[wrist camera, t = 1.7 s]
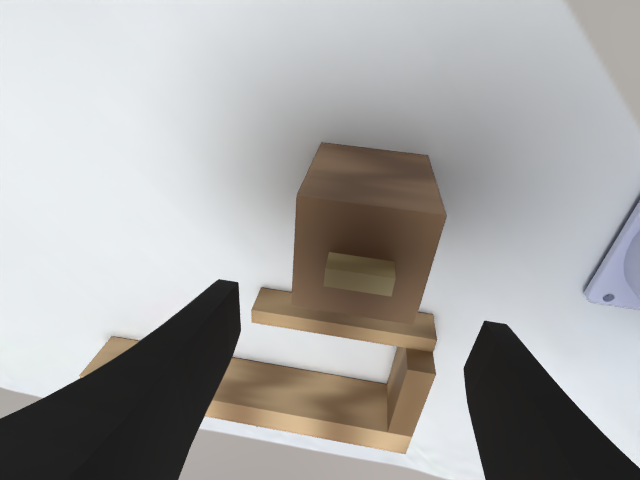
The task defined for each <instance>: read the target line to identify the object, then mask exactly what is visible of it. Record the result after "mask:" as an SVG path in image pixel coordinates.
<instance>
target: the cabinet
mask: <svg viewBox="0 0 640 480" xmlns="http://www.w3.org/2000/svg"><path fill="white" fill-rule="evenodd" d="M446 216H447V215H446V212H445V209H444V205H443V202H442V199H441V196H440V192H439V189H438V186H437V183H436V180H435V176H434V173H433V170H432V167H431V163H430V160H429V157H428V155H420V154H412V153H404V152H396V151H388V150H380V149H372V148H364V147H355V146H347V145H339V144H331V143H323V142H321V144H320V146H319V149H318V151H317V153H316V155H315V157H314V159H313V161H312V164H311V166H310V168H309V170H308V172H307V174H306V176H305V179H304V181H303V183H302V185H301V187H300V189H299V191H298V193H297V198H296V219H295V240H294V260H293V281H292V302H291V305H292V306H298V307H304V308H310V309H317V310H323V311H329V312H335V313H342V314H348V315H354V316H360V317H367V318H373V319H379V320H385V321H392V322H398V323H404V324H410V325H414V323H415V320H416V316H417V313H418V310H419V306H420V303H421V300H422V296H423V293H424V290H425V286H426V283H427V280H428V276H429V273H430V270H431V266H432V263H433V260H434V256H435V253H436V250H437V246H438V243H439V240H440V236H441V233H442V230H443V226H444V223H445V220H446Z"/></svg>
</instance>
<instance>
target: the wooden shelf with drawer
mask: <svg viewBox="0 0 640 480" xmlns="http://www.w3.org/2000/svg"><path fill="white" fill-rule="evenodd" d="M291 302H292V293H291V292H285V291H279V290H272V289H266V288H261V289H260V292H259V294H258V296H257V298H256V301H255V303H254V305H253V307H252V310H251V312H252V323H258V324H264V325H271V326H277V327H283V328H289V329H295V330H301V331H307V332H313V333H319V334H325V335H331V336H337V337H343V338H349V339H355V340H361V341H367V342H373V343H379V344H385V345H391V346H397V351H396V354H395V358H394V362H393V365H392V369H391V372H390V376H389V379H388V383H387V384H382V383H376V382H370V381H364V380H359V379H353V378H347V377H342V376H336V375H330V374H324V373H319V372H313V371H307V370H301V369H296V368H290V367H284V366H278V365H273V364H267V363H261V362H256V361H250V360H244V359H238V358H233V357H232V359H231V362H230V364H229V366H228V368H227V370H226V372H225V375H224V377H223V379H222V381H221V383H220V385H219V387H218V389H217V391H216V393H215V395H214V398H213V400H212V402H211V404H210V406H209V408H208V410H207V412H206V414H205V416H206V417H211V418H217V419H222V420H227V421H232V422H238V423H243V424H248V425H254V426H259V427H264V428H270V429H275V430H280V431H285V432H291V433H296V434H301V435H307V436H312V437H317V438H322V439H328V440H333V441H338V442H344V443H349V444H354V445H359V446H365V447H370V448H375V449H381V450H386V451H391V452H397V453H402V454H406V451H407V449H408V446H409V443H410V441H411V438H412V436H413V433H414V430H415V428H416V425H417V423H418V420H419V417H420V415H421V412H422V409H423V407H424V404H425V402H426V399H427V396H428V394H429V391H430V389H431V386H432V383H433V381H434V378H435V376H436V372H435V365H434V358H433V350H434V347H435V345H436V342H437V336H436V330H435V324H434V318H433V315H431V314H425V313H417V316H416V320H415V323H414V325H410V324H404V323H398V322H392V321H385V320H379V319H373V318H367V317H360V316H354V315H348V314H342V313H335V312H329V311H323V310H317V309H310V308H304V307H298V306H292V305H291ZM138 342H139V341H135V340H129V339H124V338H118V337H111V338H110V339H109V340H108V342H107V343H106V344H105V345H104V346H103V348H102V349H101V350H100V351H99V352H98V354H97V355H96V356H95V357H94V358H93V360H92V361H91V362H90V363H89V364H88V366H87V367H86V368H85V369H84V370H83V372H82V373H81V374H80V375H79V376H80V378H82V377H84V376H86V375H87V374H89V373H91V372H93V371H94V370H96V369H98V368H99V367H101V366H103V365H104V364H106V363H107V362H109V361H111V360H112V359H114V358H115V357H117V356H118V355H120V354H122V353H123V352H125V351H126V350H128V349H129V348H131V347H132V346H133V345H135V344H136V343H138Z"/></svg>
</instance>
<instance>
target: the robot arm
mask: <svg viewBox="0 0 640 480" xmlns="http://www.w3.org/2000/svg"><path fill="white" fill-rule="evenodd" d="M584 294H585V297H586V298H587V300H588V301H590V302H592V303H597V304H604V305H610V306H617V307H624V308H630V309H637V310H640V201H639V203H638V204H637V206H636V207H635V209H634V211H633V212H632V214H631V216H630V217H629V219H628V221H627V222H626V224H625V226H624V227H623V229H622V231H621V232H620V234H619V236H618V237H617V239H616V240H615V242H614V244H613V245H612V247H611V249H610V250H609V252H608V254H607V255H606V257H605V259H604V260H603V262H602V264H601V265H600V267H599V269H598V270H597V272H596V273H595V275H594V277H593V278H592V280H591V282H590V283H589V285H588V287H587V288H586V290H585V293H584ZM607 294H609V295H608V296H606V297H604V296H605V295H607ZM240 332H241V323H240V305H239V286H238V282H233V281H226V280H220V279H219V280H217V281H216V282H215V283H213V284H212V285H211V286H210V287H208V288H207V289H206V290H205V291H204V292H202V293H201V294H200V295H199V296H198V297H196V298H195V299H194V300H193V301H191V302H190V303H189V304H188V305H187V306H185V307H184V308H183V309H182V310H180V311H179V312H178V313H177V314H175V315H174V316H173V317H171V318H170V319H169V320H168V321H166V322H165V323H164V324H163V325H161V326H160V327H159V328H157V329H156V330H154V331H153V332H152V333H150V334H149V335H147V336H146V337H145V338H143V339H142V340H140V341H139V342H138V343H136V344H135V345H133V346H132V347H131V348H129V349H128V350H126V351H125V352H123V353H122V354H120V355H118V356H117V357H115V358H114V359H112V360H111V361H109V362H107V363H106V364H104V365H103V366H101V367H99V368H98V369H96V370H94V371H93V372H91V373H89V374H87V375H86V376H84V377H82V378H80V379H78V380H76V381H75V382H73V383H71V384H69V385H67V386H65V387H63V388H62V389H60V390H58V391H56V392H54V393H52V394H50V395H49V396H47V397H45V398H43V399H41V400H39V401H37V402H35V403H33V404H31V405H29V406H26V407H25V408H22V409H20V410H18V411H16V412H14V413H12V414H10V415H8V416H5V417H3V418H1V419H0V480H178V479H179V476H180V473H181V471H182V468H183V465H184V463H185V460H186V457H187V454H188V452H189V449H190V447H191V444H192V442H193V440H194V437H195V435H196V433H197V431H198V429H199V427H200V424H201V422H202V420H203V418H204V416H205V414H206V412H207V410H208V408H209V406H210V404H211V402H212V400H213V398H214V395H215V393H216V391H217V389H218V387H219V385H220V383H221V381H222V379H223V377H224V375H225V372H226V370H227V368H228V366H229V364H230V362H231V359H232V356H233V353H234V350H235V347H236V344H237V341H238V338H239V335H240ZM464 378H465V388H466V396H467V404H468V408H469V413H470V417H471V421H472V426H473V430H474V434H475V438H476V442H477V446H478V450H479V455H480V459H481V463H482V467H483V471H484V475H485V479H486V480H640V468H639V467H638V466H637V465H636V464H634V463H633V462H632V461H631V460H630V459H629V458H628V457H627V456H626V455H625V454H624V453H623V452H622V451H621V450H620V449H619V448H617V447H616V446H615V445H614V444H613V443H612V442H611V441H610V440H609V439H608V438H607V437H606V436H605V435H604V434H603V433H602V432H601V431H600V430H599V428H598V427H597V426H596V425H595V424H594V423H593V422H592V421H591V420H590V419H589V418H588V417H587V416H586V415H585V414H584V413H583V412H582V411H581V410H580V409H579V407H578V406H577V405H576V404H575V403H574V402H573V401H572V400H571V399H570V398H569V397H568V395H567V394H566V393H565V392H564V391H563V390H562V389H561V388H560V386H559V385H558V384H557V383H556V382H555V381H554V380H553V378H552V377H551V376H550V375H549V374H548V373H547V371H546V370H545V369H544V368H543V367H542V366H541V364H540V363H539V362H538V361H537V360H536V358H535V357H534V356H533V355H532V354H531V352H530V351H529V350H528V349H527V348H526V346H525V345H524V344H523V343H522V342H521V340H520V339H519V338H518V337H517V336H516V334H515V333H514V332H513V331H512V330H511V329H510V328H509V326H508V325H507V324H502V323H496V322H489V321H484V323H483V325H482V327H481V330H480V332H479V334H478V336H477V339H476V341H475V343H474V345H473V348H472V350H471V352H470V355H469V357H468V359H467V361H466V364H465V366H464Z"/></svg>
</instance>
